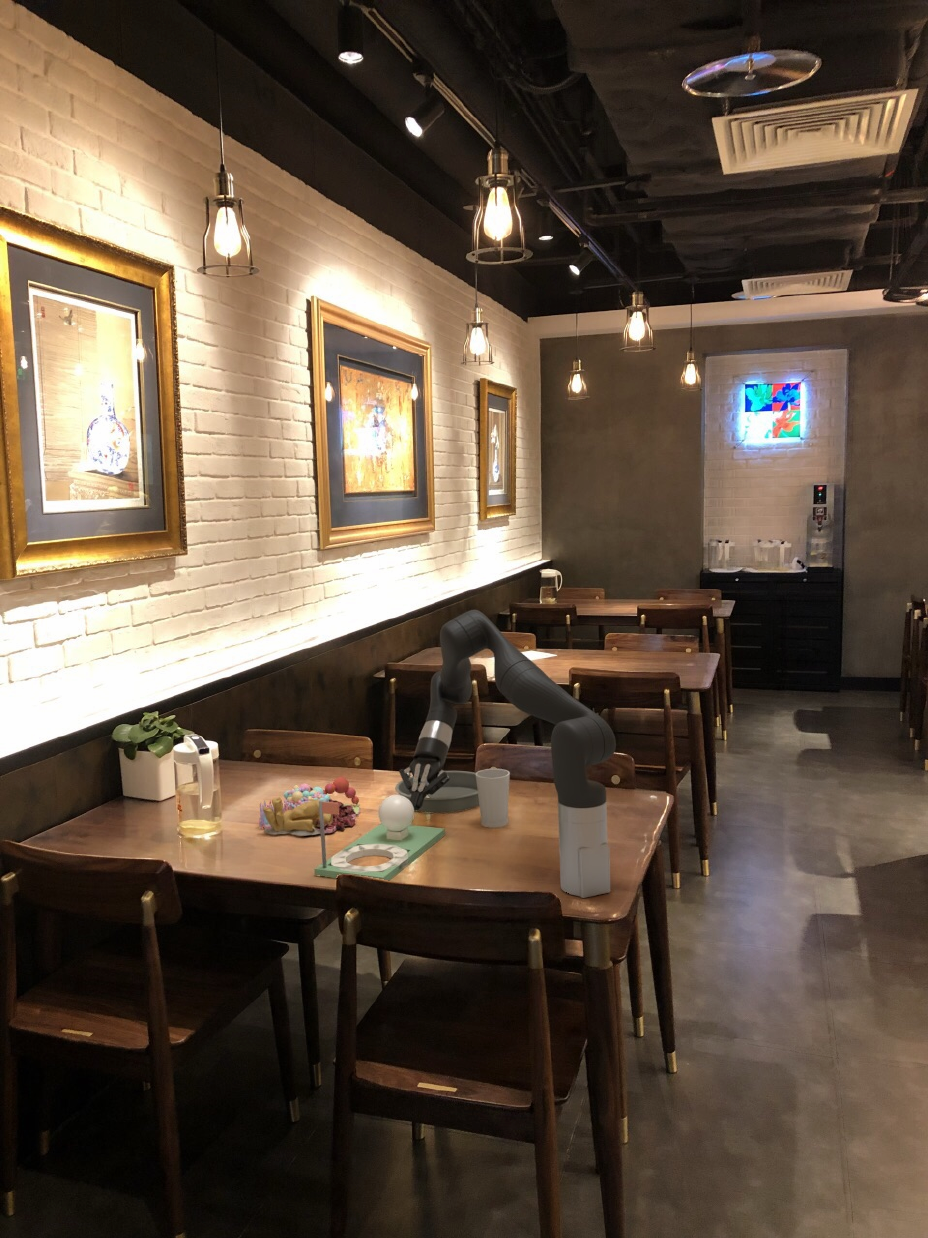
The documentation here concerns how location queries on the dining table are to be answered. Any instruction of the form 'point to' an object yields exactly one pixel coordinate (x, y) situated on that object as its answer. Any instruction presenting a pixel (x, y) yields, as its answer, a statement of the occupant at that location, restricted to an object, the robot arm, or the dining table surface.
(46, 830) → the dining table surface
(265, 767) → the dining table surface
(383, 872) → the mini golf board
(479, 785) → the cup
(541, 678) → the robot arm
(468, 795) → the round baking tin
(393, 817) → the ball
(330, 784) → the coral reef model
